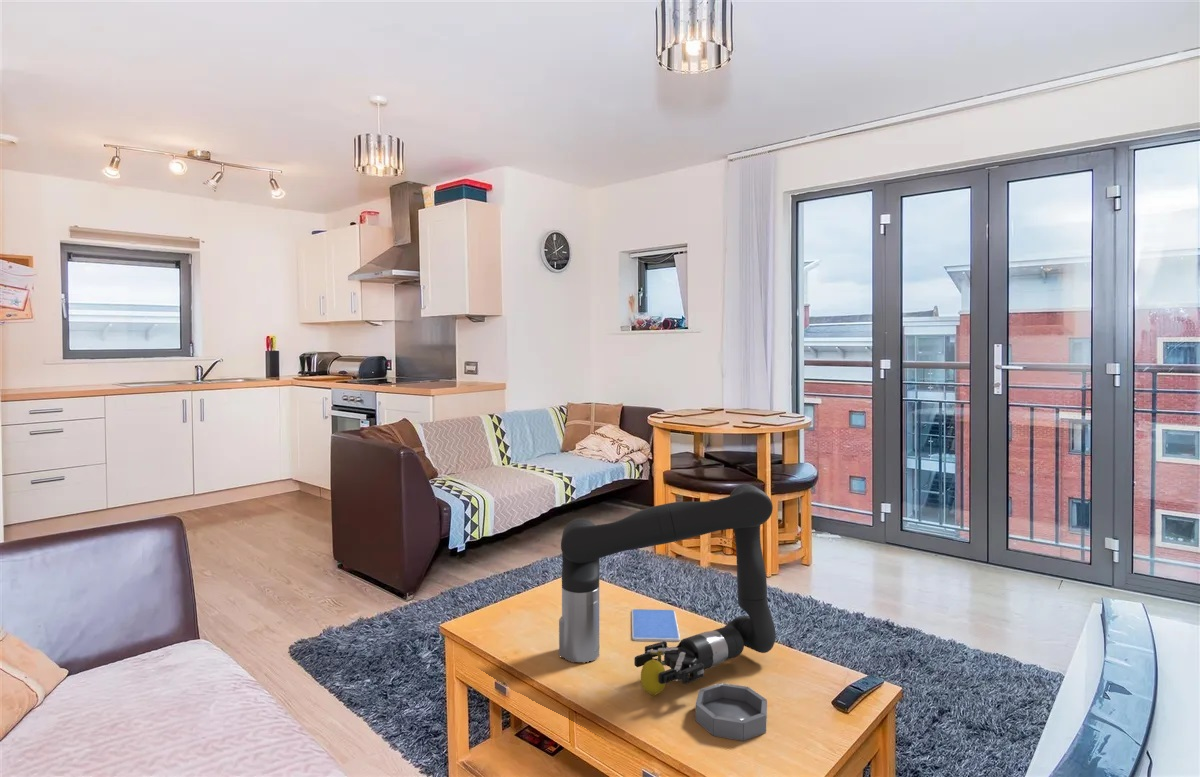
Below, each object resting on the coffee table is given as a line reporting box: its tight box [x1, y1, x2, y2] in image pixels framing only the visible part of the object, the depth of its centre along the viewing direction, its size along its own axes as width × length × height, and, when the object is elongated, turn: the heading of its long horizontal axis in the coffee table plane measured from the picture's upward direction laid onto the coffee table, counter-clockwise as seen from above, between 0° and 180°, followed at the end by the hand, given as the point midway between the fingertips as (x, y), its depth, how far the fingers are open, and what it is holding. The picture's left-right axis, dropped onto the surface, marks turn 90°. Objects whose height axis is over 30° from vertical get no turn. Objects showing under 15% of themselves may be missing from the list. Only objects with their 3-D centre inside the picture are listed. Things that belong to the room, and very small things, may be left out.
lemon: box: [640, 659, 667, 697], centre depth 135 cm, size 6×6×8 cm
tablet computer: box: [631, 608, 681, 643], centre depth 171 cm, size 19×13×1 cm, turn 178°
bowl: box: [694, 682, 768, 742], centre depth 127 cm, size 14×14×4 cm
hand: (647, 670), depth 134 cm, fingers open, 8 cm apart
